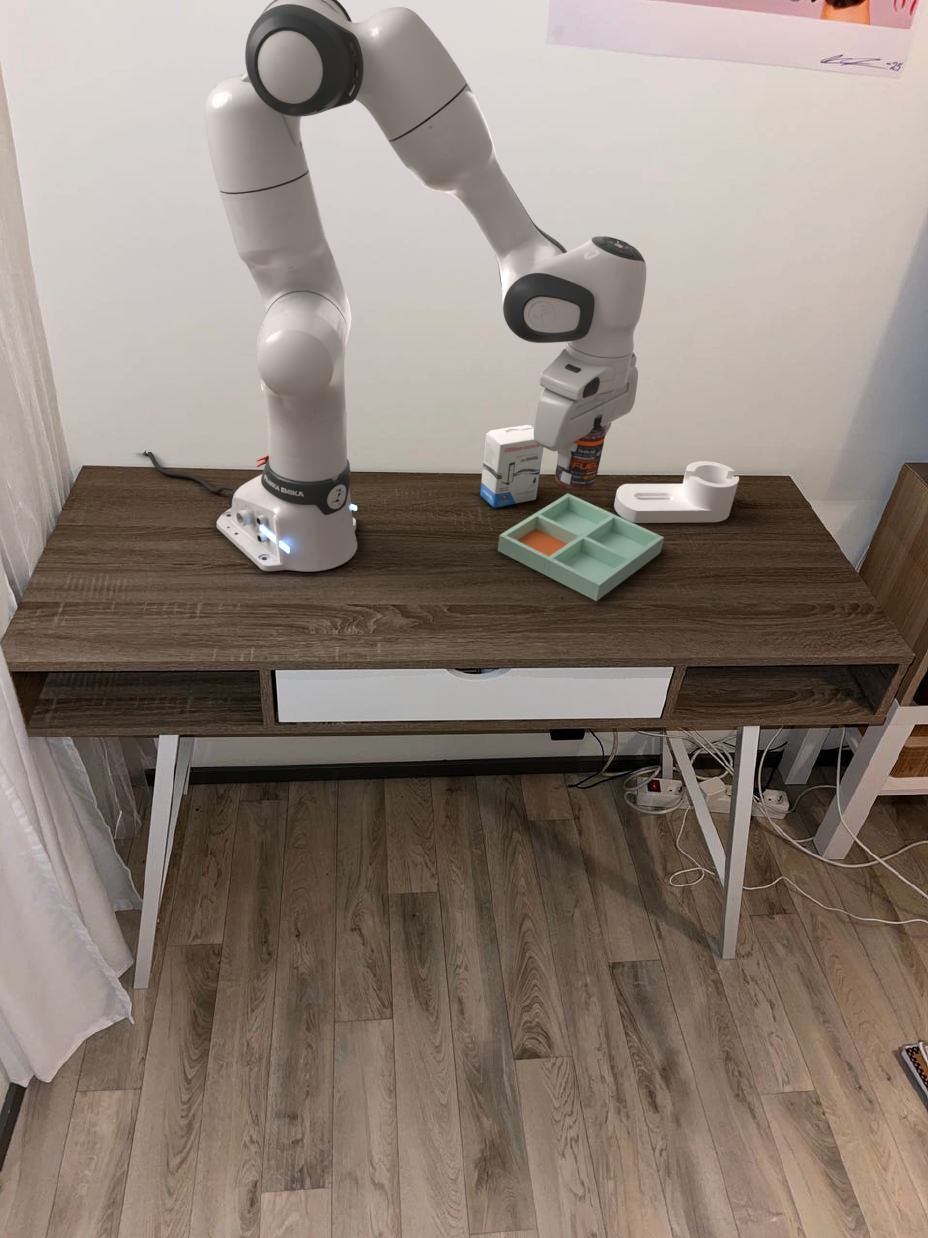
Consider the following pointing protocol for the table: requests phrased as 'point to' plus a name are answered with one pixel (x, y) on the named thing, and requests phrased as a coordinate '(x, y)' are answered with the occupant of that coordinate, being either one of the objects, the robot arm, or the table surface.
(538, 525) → the organiser
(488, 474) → the ink box
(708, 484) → the bracket
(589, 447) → the supplement bottle
